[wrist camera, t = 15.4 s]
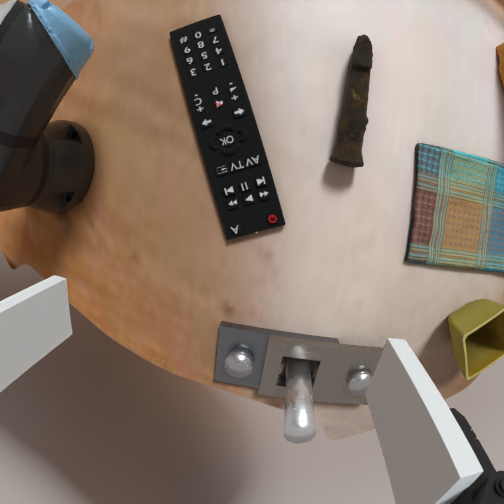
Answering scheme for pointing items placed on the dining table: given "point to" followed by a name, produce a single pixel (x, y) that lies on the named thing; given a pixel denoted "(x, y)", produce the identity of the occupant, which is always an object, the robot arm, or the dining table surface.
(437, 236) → the dish towel
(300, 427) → the steel pin
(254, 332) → the lower chain end
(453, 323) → the flower pot
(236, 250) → the dining table surface
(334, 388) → the grey block with knob
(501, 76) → the coffee package
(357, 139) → the hand tool
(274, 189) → the remote control
